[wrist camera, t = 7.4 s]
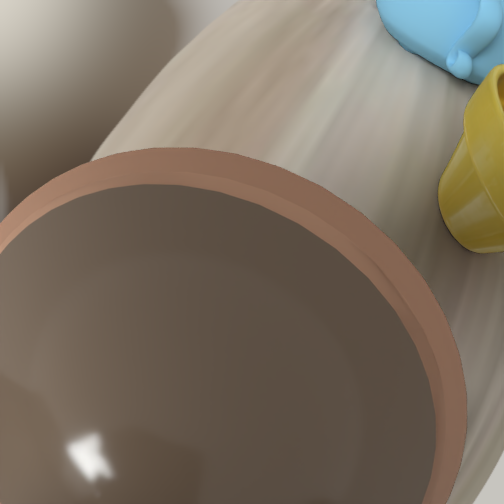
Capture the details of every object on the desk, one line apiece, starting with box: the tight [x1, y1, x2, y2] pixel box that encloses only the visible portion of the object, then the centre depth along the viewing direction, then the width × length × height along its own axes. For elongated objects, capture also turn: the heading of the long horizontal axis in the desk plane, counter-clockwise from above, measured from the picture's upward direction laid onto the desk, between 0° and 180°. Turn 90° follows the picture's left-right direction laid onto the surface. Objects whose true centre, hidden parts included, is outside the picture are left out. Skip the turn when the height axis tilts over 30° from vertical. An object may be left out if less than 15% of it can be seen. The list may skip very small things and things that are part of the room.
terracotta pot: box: [0, 148, 467, 504], centre depth 8 cm, size 7×7×13 cm
